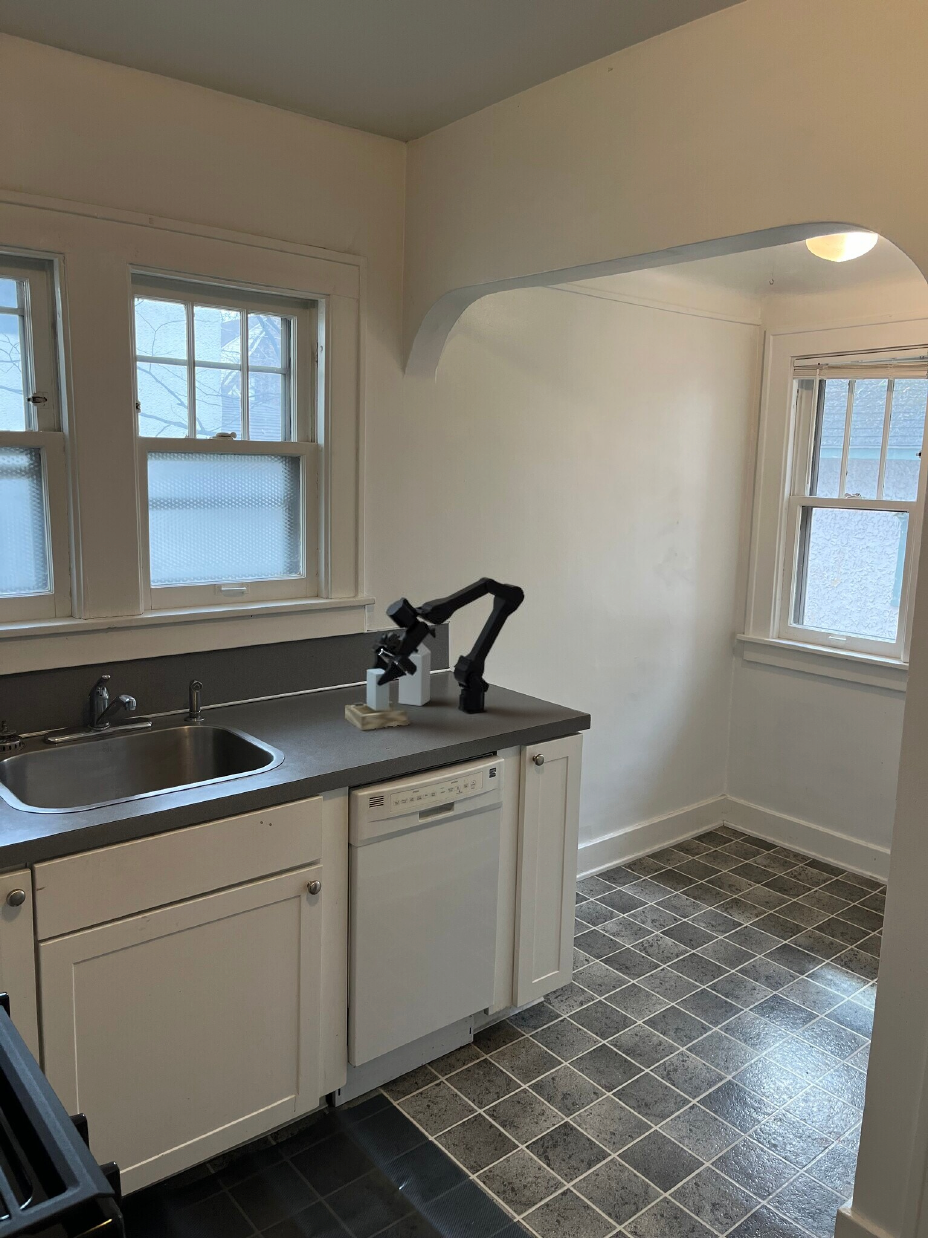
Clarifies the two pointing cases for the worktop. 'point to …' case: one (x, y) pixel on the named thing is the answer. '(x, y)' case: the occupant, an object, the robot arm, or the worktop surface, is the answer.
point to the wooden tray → (374, 716)
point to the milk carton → (417, 679)
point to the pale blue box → (377, 690)
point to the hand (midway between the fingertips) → (373, 682)
